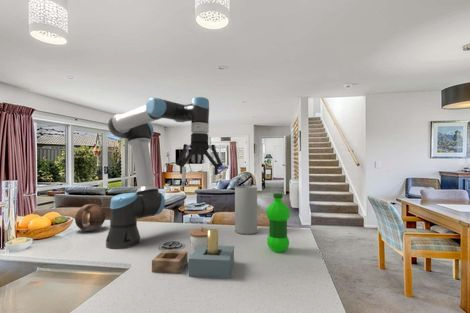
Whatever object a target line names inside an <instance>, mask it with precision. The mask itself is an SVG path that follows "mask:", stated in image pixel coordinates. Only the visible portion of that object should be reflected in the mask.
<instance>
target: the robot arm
mask: <svg viewBox="0 0 470 313" xmlns="http://www.w3.org/2000/svg"><path fill="white" fill-rule="evenodd" d="M209 118H210V101H209V99H208V98H206V97H204V96H194V97H193V98H192V99H191V103H189V104H182V103H178V102H173V101H169V100H166V99H163V98H158V97H150V98H148V101H146V104H144V105H143V106H140V107H137V108H136V109H133V110H130V111H128V112H125V113H117V114H115V115H113V116H111V117H110V119H108V123H107V127H108V130H109V132H110V133H111V134H112V135H113V136H114V137H117V138H121V139H126V140H127V143H128V145H129V146H131V150H132V158H133V164H134V165H133V166H134V171H135V178H136V180H135V181H136V184H137V189H136V191H135V192H128V193H120V194H116V195H114V196H113V197H112V198H111V199H110V204H109V208H110V212H109V213H110V214H109V216H110V217H109V218H110V219H109V222H110V223H109V224H110V225H109V231H108V234H107V236H106V239H105V247H106V248H108V249H125V248H127V249H128V248H131V247H133V246H137V245H139V244H140V243H141V235H140V232H139V229H138V228H139V227H138V226H137V225H138V223H137V222H138V219H144V218H149V217H154V216H157V215H159V214H161V213H162V212H163V211H164V209H165V206H166V199H165V196H164V195H163V193H161V192H160V191H159V188H158V187H157V186H155V185H156V184H155V180H154V173H153V165H152V160H151V153H150V148H149V144H150V142H151V140H152V138H153V136H154V127H153V125H152V122H155V121H158V120H160V119H161V120H162V119H165V120H166V119H167V120H171V121H172V120H173V121H174V122H176V123H185V122H191V123H190V124H191V127H190V128H191V130H190V131H191V135H190V144H186V143H185V144H183V146H182V150H181V152H180V154H179V156H178V158H177V159H176V162H175V165H176V166H179V174H180V175H181V182H182V183H184V182H186V179H187V178H186V174H187V167H186V166H185V165H187V163H188V162H189V161H190V160H191V158H192V157H193V156H197V155H200V156H203V155H204V156H206V158H207V159H208V160H209V162H210V163H211V164H212V165H213V167H212V184H215V183H216V182H217V181H216V179H217V177H216V176H218V175H219V167H220V168H221V167H222V166H223V162H222V161H221V159H220V156H219V153H218V152H217V150H216V149H217V148H216V147H217V146H216V145H215V144H209V128H210V125H209V124H210V123H209V121H210V120H209ZM189 149H190V152H189V153H188V154H187V152H188V151H189ZM209 149H210V150H211V151H212V154H213V156H214V157H215V158H213V157H212V156H211V154H210V153H209V151H208V150H209ZM185 155H186V157H185ZM184 157H185V158H184ZM214 159H215V160H214Z"/></svg>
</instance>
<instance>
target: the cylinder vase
mask: <svg viewBox="0 0 470 313" xmlns="http://www.w3.org/2000/svg"><path fill="white" fill-rule="evenodd" d="M234 231H235V233H237V234H240V235H254V234H257V232H258V187H257V186H253V185H239V186H235V187H234Z"/></svg>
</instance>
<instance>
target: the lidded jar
mask: <svg viewBox="0 0 470 313" xmlns="http://www.w3.org/2000/svg"><path fill="white" fill-rule="evenodd" d="M208 229H209V228H204V227H200V228H195V229H192V230H190V231H189V239H190V244H191V247H192V248H193V249H194V251H195V250H196V248H197V247H198V246H199V245H207V230H208Z"/></svg>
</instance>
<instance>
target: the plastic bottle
mask: <svg viewBox="0 0 470 313" xmlns="http://www.w3.org/2000/svg"><path fill="white" fill-rule="evenodd" d="M272 195H273V196H272V197H273V199H274V200H273V202H272V203H271V204H269V205H268V206H267V208H266V217H267V219H268V221H269V234H268V237H267V242H266V243H267V247H268V248H269V249H270V250H272V251H273V253H283V252H285V251H286V250H287V249H288V248H289V247H290V241H289V237H288V220H289V219H290V217H291V212H290V208H289V207H288V206H287V205H286V203H284V202H283V201H282V200H283V198H284V196H283V195H284V193H283V192H282V193H281V192H273V193H272Z"/></svg>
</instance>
